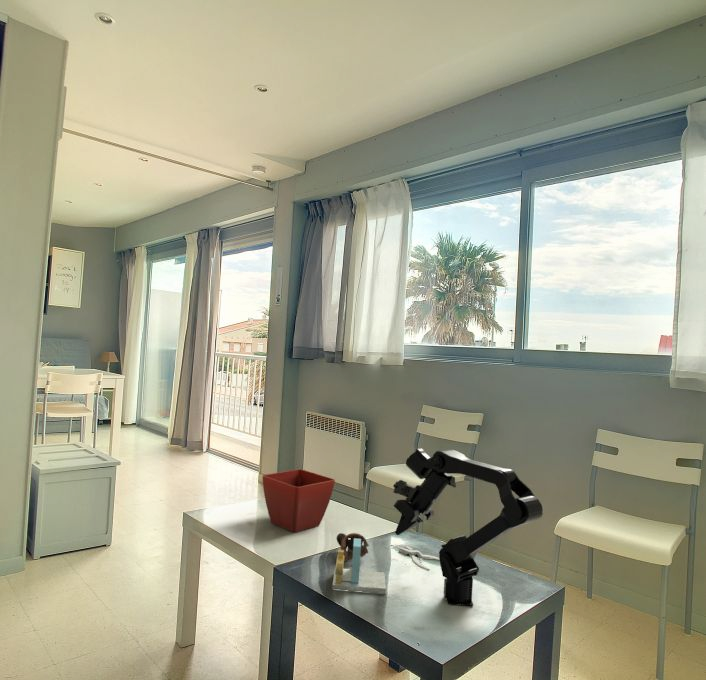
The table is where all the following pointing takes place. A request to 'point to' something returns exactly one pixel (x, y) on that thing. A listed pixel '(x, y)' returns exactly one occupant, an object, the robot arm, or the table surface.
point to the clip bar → (353, 564)
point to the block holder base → (367, 579)
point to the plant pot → (297, 498)
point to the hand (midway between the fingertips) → (396, 533)
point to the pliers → (413, 553)
